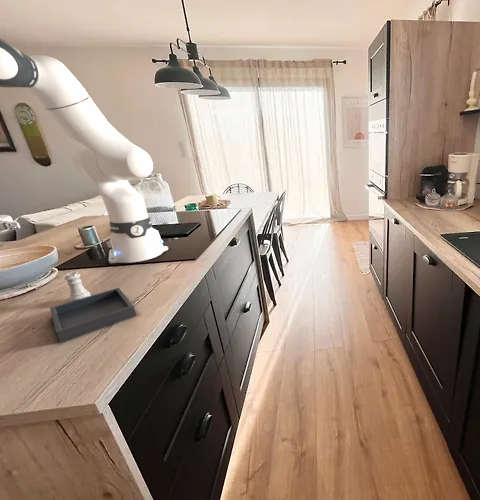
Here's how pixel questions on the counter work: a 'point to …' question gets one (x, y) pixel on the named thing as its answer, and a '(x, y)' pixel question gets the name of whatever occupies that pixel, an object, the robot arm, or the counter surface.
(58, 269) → the counter surface
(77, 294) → the rook chess piece
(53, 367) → the counter surface
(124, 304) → the tray
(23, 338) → the counter surface
